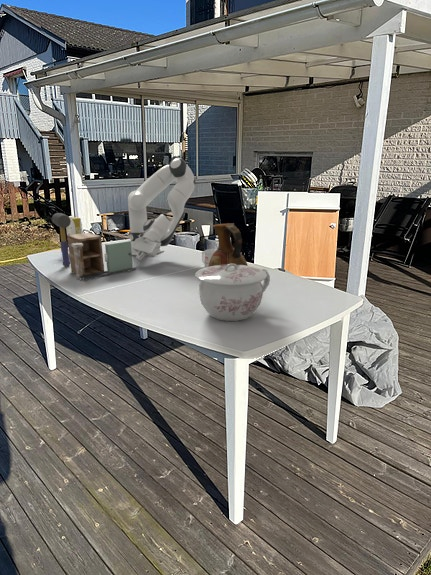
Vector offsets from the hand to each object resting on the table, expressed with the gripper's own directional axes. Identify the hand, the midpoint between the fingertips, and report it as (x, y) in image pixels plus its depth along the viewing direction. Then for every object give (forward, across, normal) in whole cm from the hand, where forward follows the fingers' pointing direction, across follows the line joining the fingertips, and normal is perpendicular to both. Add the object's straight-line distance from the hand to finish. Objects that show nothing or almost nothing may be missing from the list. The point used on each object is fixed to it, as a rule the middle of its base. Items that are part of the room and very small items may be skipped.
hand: (137, 259), depth 224 cm
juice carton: (+10, +58, +3) cm, 59 cm away
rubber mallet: (+24, +30, +16) cm, 42 cm away
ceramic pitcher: (-6, -58, -13) cm, 60 cm away
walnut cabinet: (+23, +8, +16) cm, 29 cm away
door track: (+16, 0, +9) cm, 19 cm away
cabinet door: (+12, 0, +4) cm, 12 cm away
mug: (-14, -32, -22) cm, 41 cm away
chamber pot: (+13, -86, +5) cm, 87 cm away
